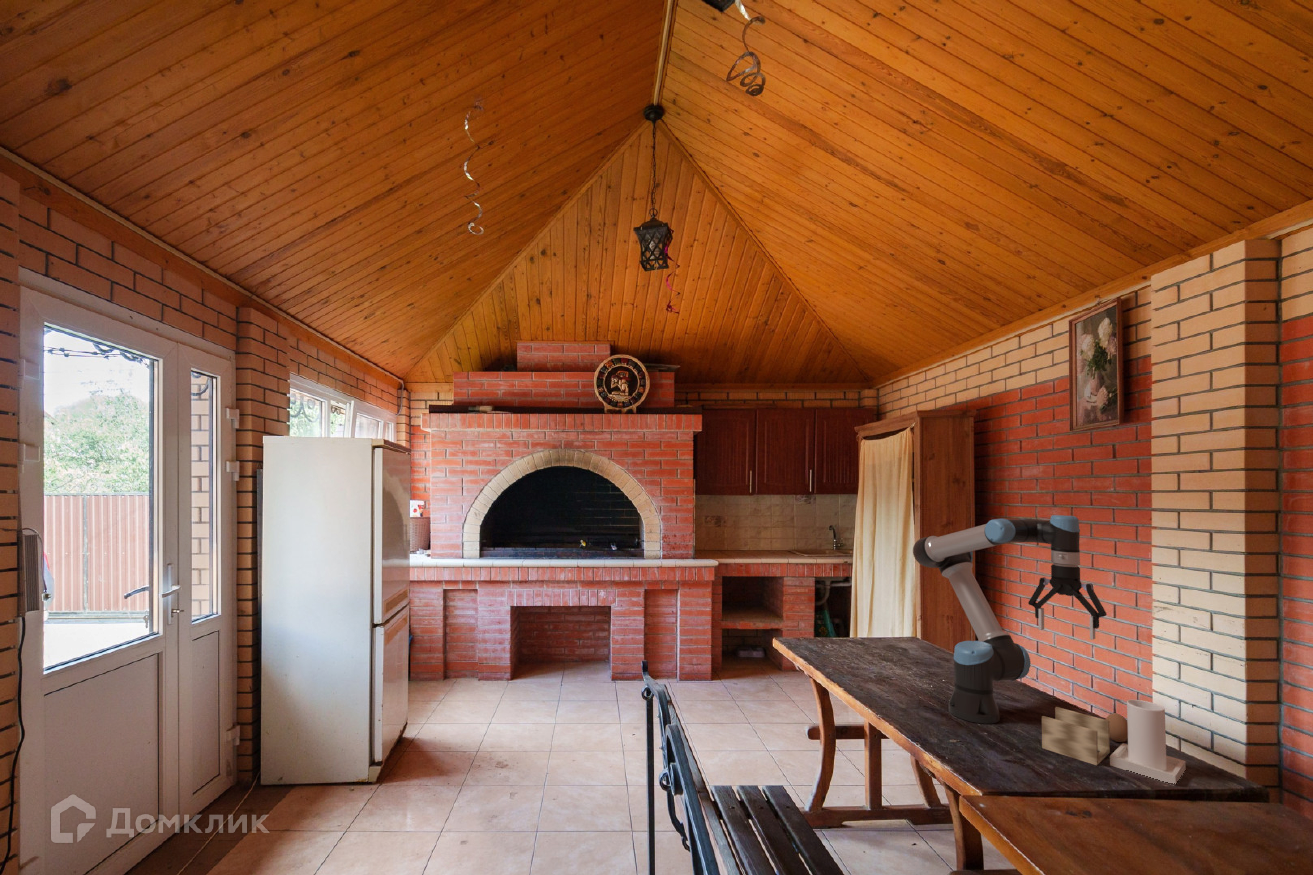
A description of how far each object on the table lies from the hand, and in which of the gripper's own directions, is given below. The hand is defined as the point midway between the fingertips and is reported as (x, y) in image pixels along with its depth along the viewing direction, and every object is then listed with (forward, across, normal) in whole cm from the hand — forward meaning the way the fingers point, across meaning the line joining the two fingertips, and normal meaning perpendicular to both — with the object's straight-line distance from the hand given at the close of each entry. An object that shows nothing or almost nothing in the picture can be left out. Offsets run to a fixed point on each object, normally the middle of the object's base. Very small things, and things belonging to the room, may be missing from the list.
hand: (1066, 634), depth 186 cm
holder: (+32, +4, -8) cm, 33 cm away
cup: (+31, +20, -4) cm, 37 cm away
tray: (+32, +20, -4) cm, 38 cm away
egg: (+32, +10, +11) cm, 35 cm away
